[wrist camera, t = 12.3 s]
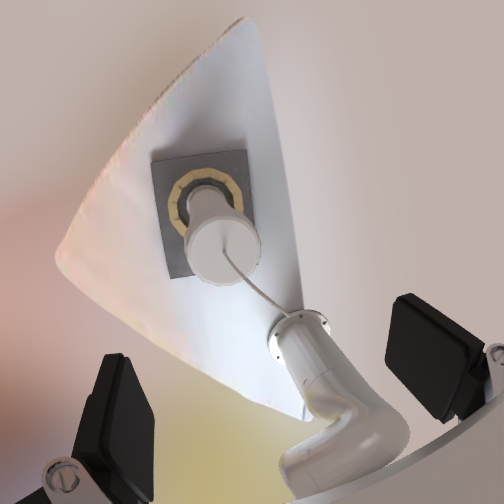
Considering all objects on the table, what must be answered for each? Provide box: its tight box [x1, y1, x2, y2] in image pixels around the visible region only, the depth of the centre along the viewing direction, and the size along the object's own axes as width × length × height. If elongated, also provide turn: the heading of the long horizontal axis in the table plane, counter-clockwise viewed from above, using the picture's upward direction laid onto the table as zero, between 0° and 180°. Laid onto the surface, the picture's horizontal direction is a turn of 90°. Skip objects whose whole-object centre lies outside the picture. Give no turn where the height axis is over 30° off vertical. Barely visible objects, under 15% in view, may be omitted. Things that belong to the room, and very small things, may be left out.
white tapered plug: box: [184, 185, 291, 317], centre depth 29 cm, size 6×6×30 cm
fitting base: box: [151, 149, 258, 279], centre depth 42 cm, size 18×14×6 cm
